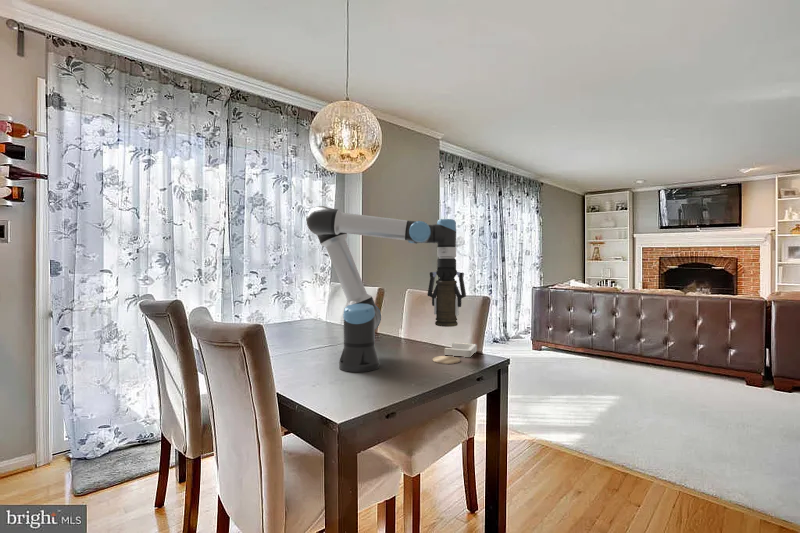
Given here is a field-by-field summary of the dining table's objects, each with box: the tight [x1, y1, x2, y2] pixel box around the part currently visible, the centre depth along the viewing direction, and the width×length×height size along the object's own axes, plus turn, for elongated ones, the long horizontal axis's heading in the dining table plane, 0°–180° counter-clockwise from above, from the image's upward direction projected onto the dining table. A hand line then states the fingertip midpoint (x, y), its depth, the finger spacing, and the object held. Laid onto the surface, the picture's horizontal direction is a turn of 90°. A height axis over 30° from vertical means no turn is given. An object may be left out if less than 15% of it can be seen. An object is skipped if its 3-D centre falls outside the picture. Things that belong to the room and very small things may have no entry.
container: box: [434, 279, 459, 328], centre depth 169 cm, size 9×9×18 cm
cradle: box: [444, 342, 478, 358], centre depth 182 cm, size 11×14×3 cm
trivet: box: [432, 355, 461, 365], centre depth 169 cm, size 11×11×1 cm
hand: (446, 314), depth 169 cm, fingers closed on container, 8 cm apart
